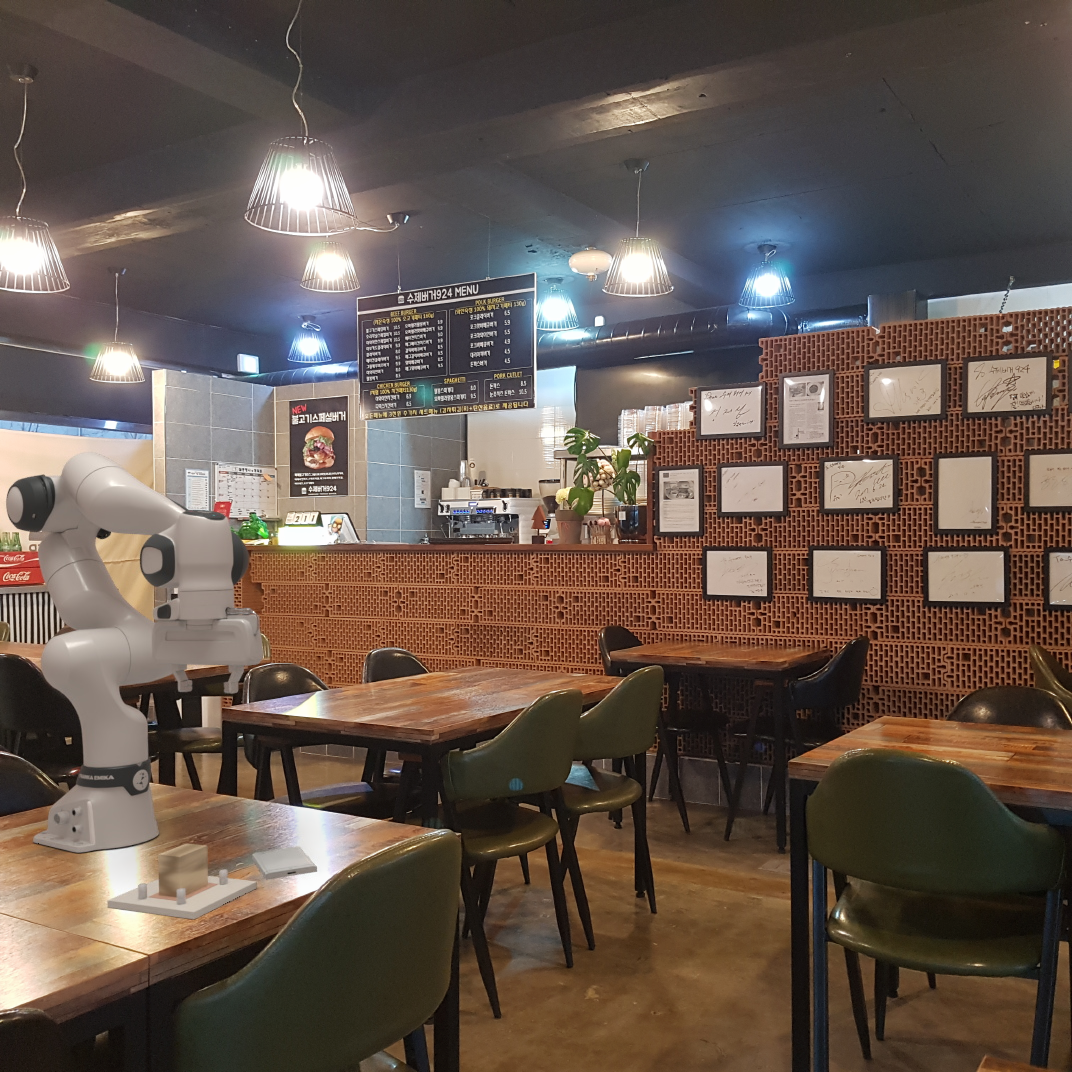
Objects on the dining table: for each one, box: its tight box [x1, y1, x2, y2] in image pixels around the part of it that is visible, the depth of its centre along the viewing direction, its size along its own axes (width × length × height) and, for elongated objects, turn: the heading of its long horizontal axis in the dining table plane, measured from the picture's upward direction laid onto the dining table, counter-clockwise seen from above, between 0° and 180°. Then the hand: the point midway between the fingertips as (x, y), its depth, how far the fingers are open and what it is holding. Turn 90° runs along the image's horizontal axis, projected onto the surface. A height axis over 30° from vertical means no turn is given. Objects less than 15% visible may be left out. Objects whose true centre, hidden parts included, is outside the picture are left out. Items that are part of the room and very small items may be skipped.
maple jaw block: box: [157, 843, 209, 897], centre depth 151 cm, size 4×6×6 cm, turn 158°
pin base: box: [107, 868, 258, 920], centre depth 151 cm, size 16×14×3 cm
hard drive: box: [251, 846, 318, 881], centre depth 166 cm, size 2×8×12 cm
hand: (207, 692), depth 164 cm, fingers open, 8 cm apart
